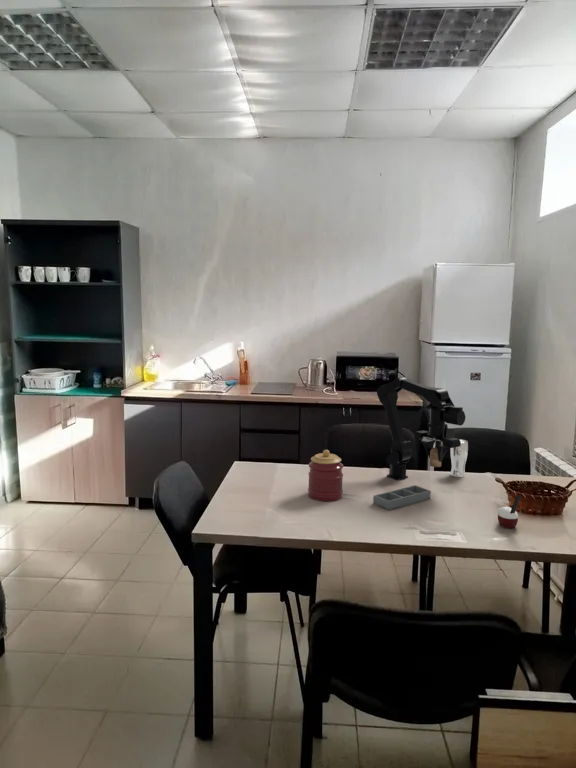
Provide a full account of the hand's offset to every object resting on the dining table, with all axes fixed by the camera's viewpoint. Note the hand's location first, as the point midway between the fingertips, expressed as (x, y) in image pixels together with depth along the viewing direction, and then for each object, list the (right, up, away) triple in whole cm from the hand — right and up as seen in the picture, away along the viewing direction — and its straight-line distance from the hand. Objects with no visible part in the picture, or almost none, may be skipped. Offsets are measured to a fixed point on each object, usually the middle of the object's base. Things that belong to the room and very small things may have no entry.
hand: (435, 460), depth 213 cm
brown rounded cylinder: (0, -2, 0) cm, 2 cm away
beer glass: (+15, -9, +19) cm, 26 cm away
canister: (-44, -12, -9) cm, 46 cm away
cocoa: (+14, -17, -36) cm, 42 cm away
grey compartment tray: (-16, -13, -14) cm, 25 cm away
